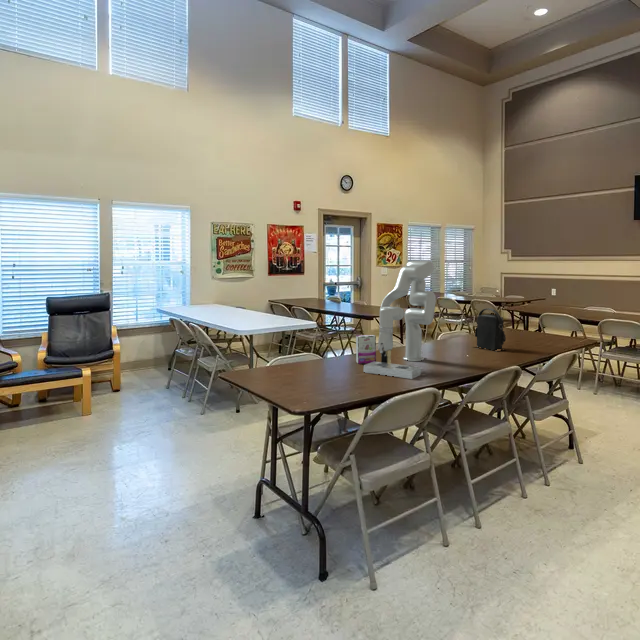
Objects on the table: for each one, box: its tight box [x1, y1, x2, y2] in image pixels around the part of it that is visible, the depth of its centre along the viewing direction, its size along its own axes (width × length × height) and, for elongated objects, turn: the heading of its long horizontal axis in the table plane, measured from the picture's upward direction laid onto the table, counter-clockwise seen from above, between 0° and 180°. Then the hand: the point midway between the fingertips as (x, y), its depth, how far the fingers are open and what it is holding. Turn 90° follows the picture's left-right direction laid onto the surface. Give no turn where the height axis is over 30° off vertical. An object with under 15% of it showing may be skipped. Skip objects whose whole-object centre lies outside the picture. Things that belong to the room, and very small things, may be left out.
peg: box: [383, 349, 392, 364], centre depth 267 cm, size 4×4×10 cm
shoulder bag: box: [474, 308, 507, 351], centre depth 322 cm, size 23×9×28 cm, turn 34°
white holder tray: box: [363, 361, 422, 380], centre depth 253 cm, size 12×28×4 cm, turn 56°
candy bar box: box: [355, 334, 377, 365], centre depth 280 cm, size 11×5×16 cm, turn 101°
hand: (385, 361), depth 267 cm, fingers closed on peg, 4 cm apart
